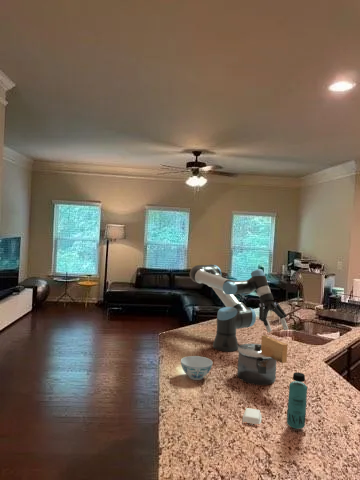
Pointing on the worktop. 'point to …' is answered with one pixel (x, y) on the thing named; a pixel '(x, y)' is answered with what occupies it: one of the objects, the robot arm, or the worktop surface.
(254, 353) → the lid
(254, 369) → the pot
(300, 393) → the beverage bottle
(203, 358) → the chinaware
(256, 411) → the soap
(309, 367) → the worktop surface
